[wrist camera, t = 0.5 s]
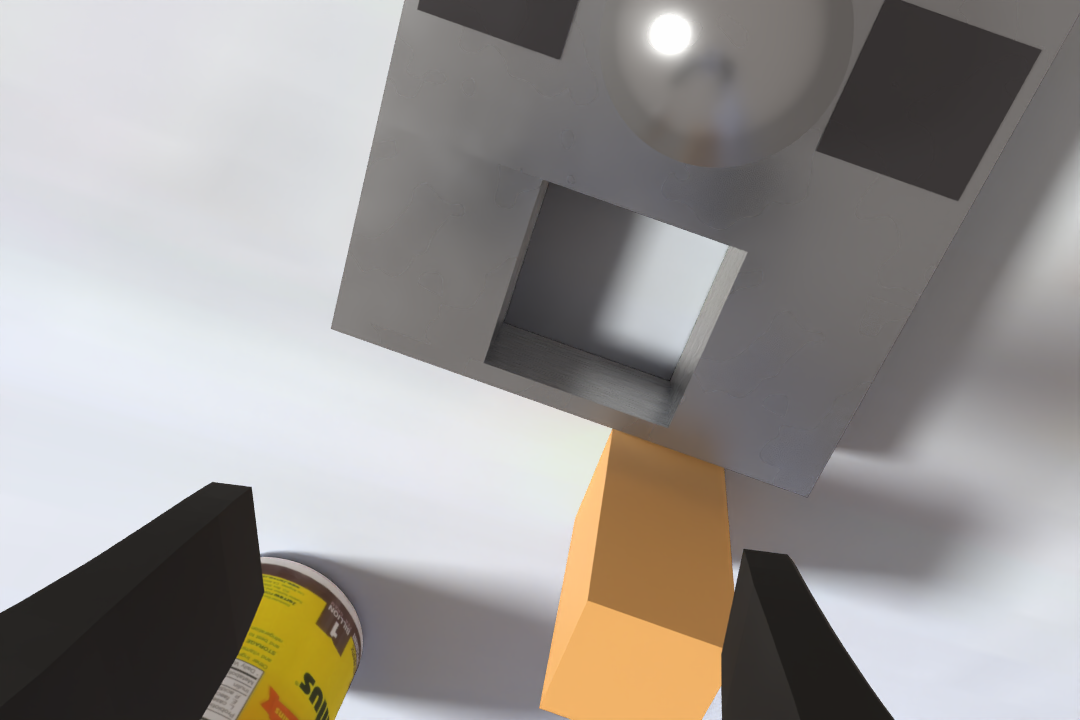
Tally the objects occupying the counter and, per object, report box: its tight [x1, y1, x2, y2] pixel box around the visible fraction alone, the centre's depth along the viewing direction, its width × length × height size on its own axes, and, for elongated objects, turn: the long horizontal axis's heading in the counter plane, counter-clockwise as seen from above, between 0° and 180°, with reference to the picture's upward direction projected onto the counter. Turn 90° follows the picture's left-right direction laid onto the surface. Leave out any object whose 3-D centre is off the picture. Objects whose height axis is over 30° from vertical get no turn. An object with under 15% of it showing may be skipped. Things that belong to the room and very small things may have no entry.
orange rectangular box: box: [539, 429, 734, 720], centre depth 21 cm, size 3×3×7 cm
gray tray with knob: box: [331, 0, 1080, 497], centre depth 18 cm, size 12×12×6 cm
